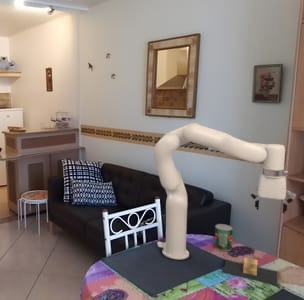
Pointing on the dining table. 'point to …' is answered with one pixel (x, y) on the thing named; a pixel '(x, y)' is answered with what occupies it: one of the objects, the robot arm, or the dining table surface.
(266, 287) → the dining table surface
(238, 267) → the mat
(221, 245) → the canned tomato
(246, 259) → the block
